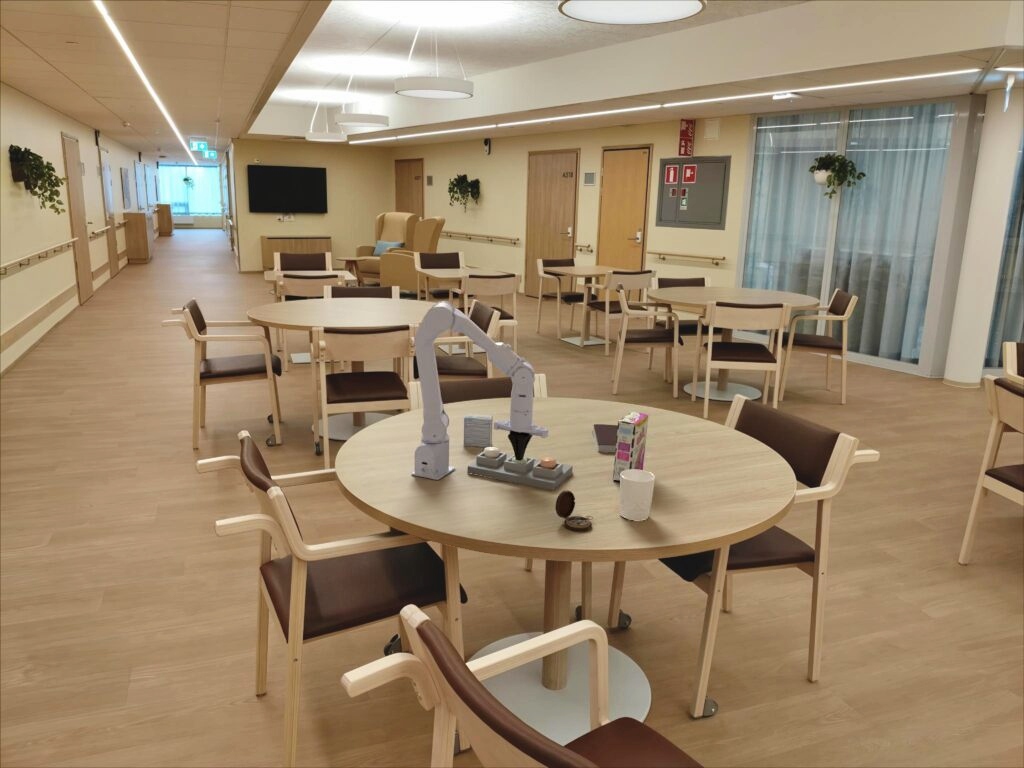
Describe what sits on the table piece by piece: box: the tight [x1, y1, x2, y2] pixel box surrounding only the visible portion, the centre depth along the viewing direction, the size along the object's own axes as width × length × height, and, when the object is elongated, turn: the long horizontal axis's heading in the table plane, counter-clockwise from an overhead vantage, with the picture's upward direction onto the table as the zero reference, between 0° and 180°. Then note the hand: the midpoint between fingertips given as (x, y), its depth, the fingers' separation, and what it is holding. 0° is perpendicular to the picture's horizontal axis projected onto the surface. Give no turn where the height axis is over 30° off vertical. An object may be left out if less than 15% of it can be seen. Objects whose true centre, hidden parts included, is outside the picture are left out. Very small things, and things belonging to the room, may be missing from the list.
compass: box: [554, 490, 594, 532], centre depth 167 cm, size 8×8×7 cm
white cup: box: [619, 469, 656, 520], centre depth 172 cm, size 8×8×10 cm
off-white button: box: [483, 446, 500, 459], centre depth 198 cm, size 4×4×2 cm
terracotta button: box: [539, 456, 557, 470], centre depth 192 cm, size 4×4×2 cm
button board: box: [467, 451, 574, 491], centre depth 197 cm, size 14×24×4 cm, turn 66°
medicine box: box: [463, 413, 494, 448], centre depth 217 cm, size 8×4×9 cm, turn 84°
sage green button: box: [512, 456, 527, 464], centre depth 196 cm, size 4×4×2 cm
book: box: [592, 423, 618, 453], centre depth 225 cm, size 12×19×3 cm, turn 178°
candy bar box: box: [612, 411, 649, 481], centre depth 196 cm, size 11×5×16 cm, turn 152°
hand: (519, 459), depth 195 cm, fingers closed, pressing on sage green button
